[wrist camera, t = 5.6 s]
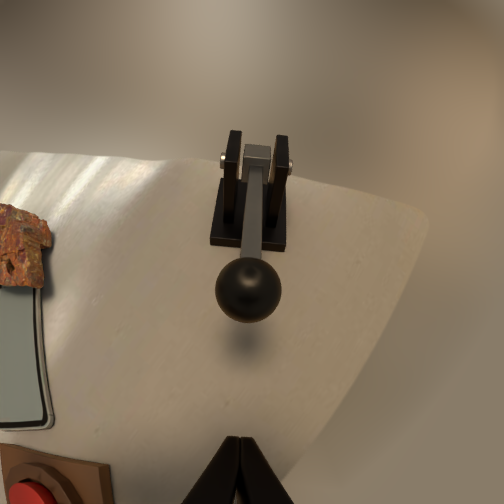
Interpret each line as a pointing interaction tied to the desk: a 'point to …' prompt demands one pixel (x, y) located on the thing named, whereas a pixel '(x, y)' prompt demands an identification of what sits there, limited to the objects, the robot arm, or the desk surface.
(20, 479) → the switch block
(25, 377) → the smartphone
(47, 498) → the button
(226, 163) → the lever bracket
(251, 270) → the switch lever
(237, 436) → the robot arm
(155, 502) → the desk surface
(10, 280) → the mineral specimen
